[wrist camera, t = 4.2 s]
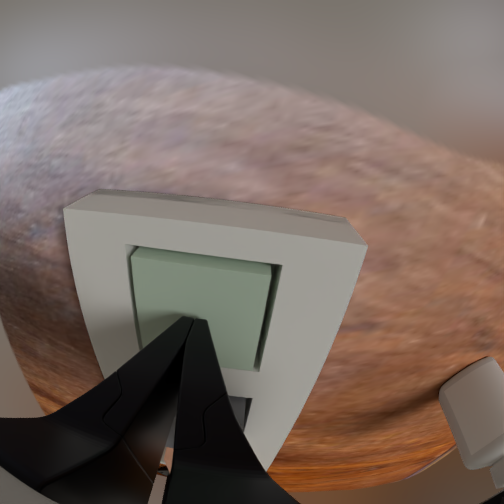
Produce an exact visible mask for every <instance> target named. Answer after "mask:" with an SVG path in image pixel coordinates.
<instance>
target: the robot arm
mask: <svg viewBox="0 0 504 504" xmlns="http://www.w3.org/2000/svg"><path fill="white" fill-rule="evenodd" d="M176 411H177V414H176ZM175 414H176V424H175V434H174V446H173V458H172V466H171V471H170V472H169V470H168V468H158V467H159V464H160V461H161V458H162V455H163V451H164V448H165V445H166V442H167V439H168V436H169V432H170V429H171V426H172V423H173V420H174V417H175ZM157 471H158V472H159V473H161V474H164V475H166V476H167V480H166V485H165V490H164V495H163V500H162V504H300V503H299V502H298V501H296V500H295V499H294V498H293V497H292V496H291V495H289V494H288V493H287V492H286V491H285V490H284V489H283V488H281V487H280V486H279V485H278V484H277V483H276V482H275V481H274V480H273V479H272V478H271V477H270V476H269V475H268V473H267V472H266V471H265V469H264V468H263V466H262V465H261V463H260V461H259V460H258V458H257V456H256V454H255V453H254V451H253V449H252V447H251V445H250V444H249V442H248V440H247V438H246V436H245V434H244V433H243V431H242V429H241V426H240V424H239V422H238V420H237V418H236V415H235V413H234V410H233V407H232V404H231V401H230V398H229V395H228V392H227V389H226V385H225V382H224V379H223V375H222V372H221V368H220V365H219V361H218V358H217V354H216V351H215V347H214V343H213V340H212V336H211V332H210V328H209V325H208V321H207V320H206V319H201V318H195V319H194V318H193V317H188V316H182V317H180V318H179V319H178V320H177V321H175V322H174V323H173V324H172V325H171V326H169V327H168V328H167V329H166V330H165V331H163V332H162V333H161V334H160V335H159V336H157V337H156V338H155V339H154V340H152V341H151V342H150V343H149V344H148V345H146V346H145V347H144V348H143V349H142V350H140V351H139V352H138V353H137V354H135V355H134V356H133V357H132V358H131V359H129V360H128V361H127V362H126V363H125V364H123V365H122V366H121V367H120V368H118V369H117V372H116V371H115V372H113V373H112V374H111V375H110V376H109V377H107V378H106V379H105V380H103V381H102V382H101V383H99V384H98V385H97V386H95V387H94V388H92V389H91V390H89V391H88V392H86V393H85V394H83V395H82V396H80V397H79V398H77V399H75V400H74V401H72V402H71V403H69V404H67V405H66V406H64V407H62V408H61V409H59V410H57V411H56V412H54V413H52V414H49V415H47V416H43V417H38V418H0V504H148V501H149V497H150V494H151V491H152V487H153V483H154V480H155V477H156V474H157ZM479 504H504V489H503V490H502V491H500V492H498V493H497V494H495V495H493V496H492V497H490V498H488V499H487V500H485V501H483V502H481V503H479Z"/></svg>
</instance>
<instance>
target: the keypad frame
mask: <svg viewBox="0 0 504 504" xmlns="http://www.w3.org/2000/svg"><path fill="white" fill-rule="evenodd" d="M63 213H64V221H65V229H66V237H67V243H68V250H69V255H70V261H71V266H72V271H73V276H74V281H75V285H76V290H77V294H78V298H79V302H80V306H81V310H82V313H83V317H84V320H85V324H86V327H87V330H88V334H89V337H90V340H91V343H92V346H93V349H94V352H95V355H96V358H97V360H98V363H99V366H100V369H101V371H102V374H103V376H104V379H106V378H107V377H109V376H110V375H111V374H112V373H113V372H115V371H116V372H117V369H118V368H120V367H121V366H122V365H123V364H125V363H126V362H127V361H128V360H129V359H131V358H132V357H133V356H134V355H135V354H137V353H138V352H139V351H140V350H142V349H143V345H142V340H141V334H140V328H139V321H138V315H137V308H136V300H135V292H134V284H133V274H132V263H131V256H132V255H133V253H134V252H135V251H136V250H137V249H138V248H139V247H140V246H144V247H151V248H158V249H166V250H173V251H180V252H188V253H195V254H203V255H210V256H218V257H226V258H233V259H241V260H249V261H257V262H264V263H271V280H270V286H269V291H268V296H267V301H266V306H265V312H264V317H263V322H262V327H261V332H260V337H259V342H258V347H257V351H256V356H255V361H254V366H253V371H250V370H241V369H233V368H225V367H220V368H221V372H222V375H223V379H224V382H225V385H226V389H227V392H228V395H229V396H237V397H246V400H245V416H244V427H243V433H244V434H245V436H246V438H247V440H248V442H249V444H250V445H251V447H252V449H253V451H254V453H255V454H256V456H257V458H258V460H259V461H260V463H261V465H262V466H263V468H264V469H265V471H267V469H268V468H269V466H270V465H271V463H272V461H273V460H274V458H275V456H276V455H277V453H278V451H279V450H280V448H281V446H282V445H283V443H284V441H285V439H286V438H287V436H288V434H289V432H290V430H291V429H292V427H293V425H294V423H295V421H296V419H297V418H298V416H299V414H300V412H301V410H302V408H303V406H304V404H305V402H306V400H307V398H308V396H309V394H310V392H311V390H312V388H313V386H314V384H315V382H316V380H317V377H318V375H319V373H320V371H321V369H322V367H323V364H324V362H325V360H326V358H327V355H328V353H329V351H330V348H331V346H332V344H333V341H334V339H335V337H336V334H337V332H338V329H339V327H340V324H341V322H342V319H343V317H344V314H345V311H346V309H347V306H348V304H349V301H350V298H351V295H352V293H353V290H354V287H355V284H356V281H357V278H358V275H359V272H360V269H361V266H362V263H363V260H364V257H365V254H366V251H367V247H368V245H367V244H366V243H365V241H364V240H363V239H362V237H361V236H360V235H359V234H358V232H357V231H356V230H355V229H354V227H353V226H352V225H351V224H350V222H349V221H348V220H347V219H346V218H344V217H339V216H333V215H327V214H321V213H315V212H308V211H302V210H295V209H289V208H282V207H275V206H268V205H260V204H253V203H245V202H237V201H229V200H220V199H212V198H203V197H193V196H183V195H173V194H162V193H150V192H137V191H123V190H108V189H99V190H97V191H95V192H93V193H91V194H89V195H87V196H85V197H83V198H81V199H79V200H78V201H76V202H74V203H72V204H70V205H69V206H67V207H65V208H63ZM165 452H166V447H165V448H164V451H163V455H162V458H161V461H160V463H162V464H166V463H165V461H164V456H165Z"/></svg>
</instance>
